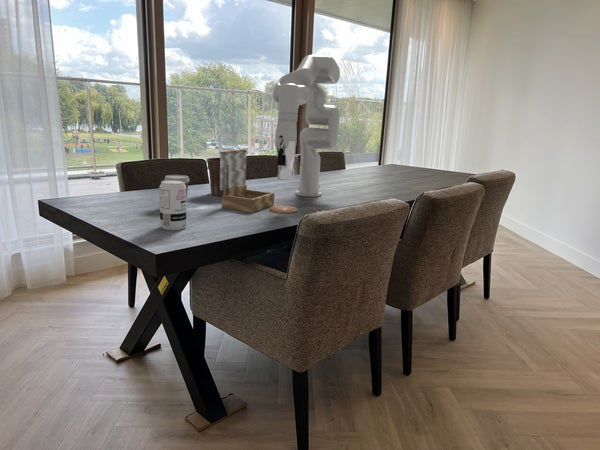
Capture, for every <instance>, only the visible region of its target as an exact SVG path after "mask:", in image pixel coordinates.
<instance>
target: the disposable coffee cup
mask: <svg viewBox="0 0 600 450" xmlns="http://www.w3.org/2000/svg"><path fill="white" fill-rule="evenodd" d="M166 180H178V181H183V182H184V184H185V185H186V200H187V197H188V189H189V183H190V178H189V176H188V175H181V174H168V175H165V177H164V179H163V181H166Z"/></svg>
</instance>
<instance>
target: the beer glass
mask: <svg viewBox="0 0 600 450" xmlns="http://www.w3.org/2000/svg"><path fill="white" fill-rule="evenodd" d="M281 146H282V147H284V144H283V142H282V144H281ZM282 150H283V149H282ZM276 155H277V158H278V154H276ZM285 155H286V163H285V166H281V165H278V173H277V177H276V179H278V180H282V181H284V180H285V181H289V180H290V181H292V180H293V166H294V164H293V162H294V163H295V156H296V147H295V140H294V141H289V145H288V147H287V148H286V152H285Z"/></svg>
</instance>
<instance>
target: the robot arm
mask: <svg viewBox="0 0 600 450" xmlns="http://www.w3.org/2000/svg"><path fill="white" fill-rule="evenodd" d="M339 66H340V65H338V63H337V62H336V60H335V59H334V57H333V56H331V55H328V54H327V55H326V54H309V55H306V56H304V57H303V58H302V60H301V62H300V63H299V65H298V67H297V69H296V70H295V69H294V70H293V71H291V72H289V73H287V74H284V75H282V76H281V77H279V79H278V80H277V82H276V84H275V85H274V88H273V91H272V97H273V100H274V101H275V103H276V104H278V107H277V123H276V124H277V125H276V128H275V129H276V130H275V140H274V141H275V142H274V146H275V148H276V153H277V154H278V157H277V166H279V165H281V166H285V163H286V155H285V152H286V148H287V147H288V145H289V141H294V140H295V148H296V147H297V139H298V138H297V137H298V136H297V135H298V131H297V130H298V129H297V128H298V127H297V123H298V118H299V114H298V113H299V106H304V105H306V108H305V122H306V123H307V125H309V126H317V127H305V128H303V129H302V130H301V131H300V133H299V142H300V143H299V145H300V164H299V165H300V166H299V178H298V179H299V181H298V183H299V184H298V190H295V195H297V196H301V197H310V198H312V197H313V198H315V197H321V196H322V195H323V194H322V192H321V191H319V190H320V189H321V185H320V176H321V175H320V173H321V161H322V160H321V159H322V158H321V155H320V154H319V152H318V151H317V150H328V151H331V150H334V149H336V147H337V143H338V135H339V127H340V116H341V115H340V110H339V107H338V106H336V105H330V104H326V99H327V98H326V97H327V95H326V92H325V90H324V88H323V87H322V86H321V85H322V84H323V85H324V84H325V85H335V84H337V83H338V82H339V81H340V77H341V70H340V67H339ZM319 126H320V127H327V128H320V127H319ZM282 142H283V144H284V147H282V146H281V144H282ZM282 149H283V150H282ZM277 154H276V155H277ZM294 163H295V161H294V162H293V165H294Z"/></svg>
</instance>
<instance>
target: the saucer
mask: <svg viewBox="0 0 600 450" xmlns="http://www.w3.org/2000/svg"><path fill="white" fill-rule="evenodd" d="M269 210H270V212H272V213H277V214H294V213H297V212H298V207H296V206H291V205H280V204H279V205H272V206H269Z"/></svg>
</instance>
